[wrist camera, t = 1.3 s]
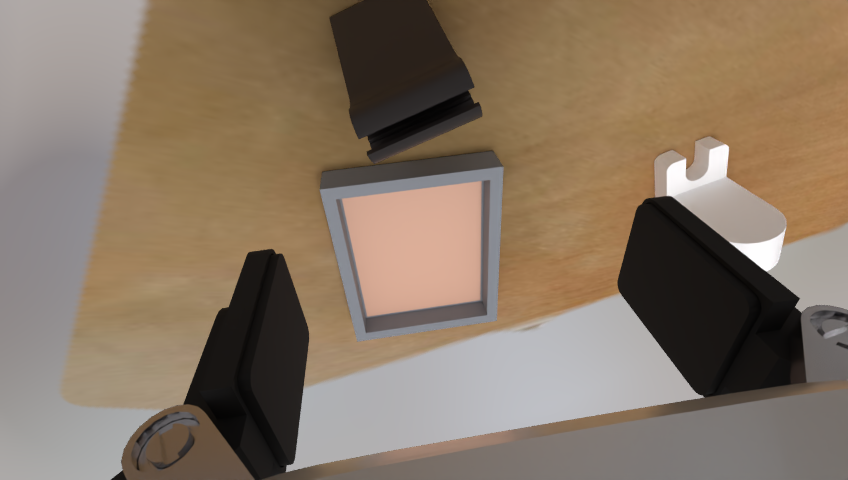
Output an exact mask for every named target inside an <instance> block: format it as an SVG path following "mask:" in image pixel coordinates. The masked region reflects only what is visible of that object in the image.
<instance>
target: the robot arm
mask: <svg viewBox="0 0 848 480" xmlns="http://www.w3.org/2000/svg"><path fill="white" fill-rule="evenodd" d="M618 289H619V292H620V293H621V295H622V296H623V297H624V299H625V300H626V301H627V303H628V304H629V305H630V307H631V308H632V309H633V311H634V312H635V313H636V315H637V316H638V317H639V319H640V320H641V321H642V323H643V324H644V325H645V326H646V328H647V329H648V330H649V332H650V333H651V334H652V336H653V337H654V338H655V340H656V341H657V342H658V344H659V345H660V346H661V348H662V349H663V350H664V352H665V353H666V354H667V356H668V357H669V358H670V359H671V361H672V362H673V363H674V365H675V366H676V367H677V369H678V370H679V371H680V373H681V374H682V375H683V377H684V378H685V379H686V381H687V382H688V383H689V385H690V386H691V387H692V388H693V390H694V391H695V392H696V393H698V394H699V395H703V396H704V397H705V398H700V399H694V400H687V401H681V402H675V403H669V404H664V405H657V406H651V407H645V408H639V409H633V410H626V411H621V412H614V413H609V414H603V415H597V416H591V417H585V418H579V419H574V420H567V421H561V422H556V423H549V424H543V425H537V426H532V427H526V428H520V429H514V430H508V431H502V432H496V433H490V434H485V435H479V436H473V437H467V438H462V439H456V440H450V441H444V442H439V443H433V444H428V445H421V446H416V447H410V448H405V449H399V450H393V451H387V452H382V453H377V454H372V455H366V456H361V457H356V458H351V459H346V460H340V461H335V462H331V463H325V464H319V465H315V466H311V467H307V468H303V469H298V470H294V471H290V472H286V466H287V465H291V464H293V463H294V460H295V453H296V445H297V437H298V428H299V420H300V411H301V403H302V395H303V386H304V378H305V369H306V361H307V353H308V344H309V331H308V326H307V323H306V320H305V317H304V314H303V311H302V308H301V305H300V303H299V300H298V297H297V294H296V291H295V288H294V285H293V282H292V279H291V276H290V273H289V270H288V267H287V264H286V262H285V259H284V256H283V255H282V254H276V253H275V251H274V250H273V249H268V250H261V251H253V252H249V253H248V254H247V257H246V260H245V262H244V265H243V268H242V271H241V274H240V277H239V279H238V282H237V285H236V288H235V291H234V294H233V297H232V299H231V302H230V305H229V307H228V308H222V309H221V310H220V311H219V312H218V314H217V316H216V319H215V321H214V324H213V327H212V329H211V332H210V335H209V337H208V340H207V343H206V345H205V348H204V351H203V353H202V356H201V359H200V361H199V364H198V367H197V369H196V372H195V375H194V377H193V380H192V383H191V385H190V388H189V391H188V393H187V396H186V399H185V401H184V404H183V405H176V406H173V407H170V408H167V409H164V410H163V411H161V412H159V413H158V414H156V415H154V416H152V417H151V418H149V419H148V420H147V421H146V422H145V423H143V424H142V425H141V426H140V427H139V428H138V429H137V430H136V432H135V433H134V434H133V435H132V436H131V437H130V440H129V441H128V443H127V445H126V447H125V448H124V451H123V456H122V460H121V464H122V469H123V470H122V471H121V472H120V473H119V474H117V475H116V476H115V477H114V478H112V479H111V480H848V310H846V309H843V308H839V307H834V306H828V305H816V306H812V307H808V308H806V309H805V310H804V311H803V312H802V313H801V312H800V311H799V310H798V309H796V308H795V306H796V304H797V302H798V301H799V299H800V298H799V297H797V296H796V295H795V294H793V293H792V292H791V291H790V290H789V289H787V288H786V287H785V286H784V285H782V284H781V283H780V282H779V281H777V280H776V279H775V278H774V277H772V276H771V275H770V274H768V273H767V272H766V271H765V270H763V269H762V268H761V267H760V266H758V265H757V264H756V263H755V262H753V261H752V260H751V259H750V258H748V257H747V256H746V255H745V254H743V253H742V252H741V251H740V250H738V249H737V248H736V247H735V246H733V245H732V244H731V243H730V242H728V241H727V240H726V239H725V238H723V237H722V236H721V235H720V234H718V233H717V232H716V231H715V230H713V229H712V228H711V227H710V226H708V225H707V224H706V223H705V222H703V221H702V220H701V219H700V218H698V217H697V216H696V215H695V214H693V213H692V212H691V211H690V210H688V209H687V208H686V207H685V206H683V205H682V204H681V203H680V202H678V201H677V200H676V199H675V198H673V197H671V196H662V197H654V198H648V199H646V200H644V202H643V203H642V205H639V206H638V208H637V210H636V213H635V217H634V221H633V225H632V229H631V232H630V236H629V240H628V244H627V247H626V251H625V255H624V259H623V262H622V266H621V270H620V274H619V278H618Z"/></svg>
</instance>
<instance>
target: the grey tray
mask: <svg viewBox="0 0 848 480" xmlns="http://www.w3.org/2000/svg"><path fill="white" fill-rule="evenodd" d="M502 187H503V165H502V164H501V162H500V161H499V159H498V158H497V156H496V155H495V153H494V152H493V151H488V152H480V153H472V154H464V155H455V156H447V157H439V158H431V159H423V160H415V161H407V162H398V163H390V164H382V165H374V166H366V167H358V168H350V169H342V170H333V171H325V172H322V178H321V184H320V193H321V197H322V201H323V205H324V209H325V213H326V217H327V221H328V225H329V229H330V233H331V237H332V241H333V245H334V249H335V253H336V257H337V261H338V265H339V270H340V274H341V278H342V282H343V286H344V290H345V294H346V298H347V302H348V306H349V310H350V314H351V318H352V322H353V326H354V330H355V334H356V338H357V342H358V341H365V340H371V339H378V338H385V337H391V336H398V335H405V334H411V333H418V332H425V331H431V330H438V329H445V328H451V327H458V326H465V325H472V324H478V323H485V322H492V321H497V302H498V279H499V256H500V233H501V210H502Z"/></svg>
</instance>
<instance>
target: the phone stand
mask: <svg viewBox="0 0 848 480" xmlns="http://www.w3.org/2000/svg"><path fill="white" fill-rule="evenodd" d="M330 22H331V26H332V30H333V34H334V38H335V42H336V46H337V50H338V54H339V58H340V62H341V66H342V70H343V75H344V79H345V83H346V87H347V91H348V95H349V99H350V108H349V114H350V118H351V121H352V124H353V127H354V129H355V132H356V134H357V137H358V139H361V138H363V137H365V136H368V140H369V142H370V146H371V149H372V150H369V151H367V156H368V157H369V159H370V160H371V161H372V162H373V163H374V164H375V163H378V162H380V161H382V160H384V159H387V158H389V157H391V156H393V155H396V154H398V153H400V152H403V151H405V150H407V149H409V148H412V147H414V146H416V145H418V144H421V143H423V142H425V141H428V140H430V139H432V138H434V137H437V136H439V135H441V134H443V133H446V132H448V131H450V130H453V129H455V128H457V127H459V126H462V125H464V124H466V123H468V122H471V121H473V120H475V119H478V118H480V117H482V110H481V106H480V104H479V102H477V103H475V104H474V102H473V99H472V98H471V95H470V93H469V91H468V90H469V89H472V88H474V84H473V82H472V79H471V77H470V74H469V72H468V70H467V68H466V66H465V64H464V62H463V60H462V59H461V58H460V57H458V56H457V54H456V53H455V51H454V50H453V48H452V46H451V44H450V42H449V41H448V39H447V37H446V35H445V33H444V31H443V30H442V28H441V26H440V24H439V22H438V20H437V19H436V17H435V15H434V13H433V11H432V9H431V7H430V6H429V4H428V2H427V0H364V1H362V2H360V3H358V4H356V5H354V6H352V7H350V8H348V9H346V10H344V11H342V12H340V13H338V14H336V15H334V16H332V17H330Z"/></svg>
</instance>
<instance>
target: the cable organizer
mask: <svg viewBox="0 0 848 480" xmlns="http://www.w3.org/2000/svg"><path fill="white" fill-rule="evenodd" d="M728 153H729V147H728V146H727V145H725V144H724V143H722V142H720V141H718V140H716V139H714V138H713V137H706V138H703V139H700V140H698V141H695V158H694V162H693V163H692V165H691V166H690V167H689V168H688V169H686V158H685V157H683V156H681V155H680V154H678V153H677V152H675V151H674V150H671V151H668V152H666V153H663V154H661V155H659V156H658V157H657V158H656V159H655V162H654V168H655V197H662V196H671V197H673V198H675V199H676V200H677V201H678V202H680V203H681V204H682V205H683V206H685V207H686V208H687V209H688V210H690V211H691V212H692V213H693V214H695V215H696V216H697V217H698V218H700V219H701V220H702V221H703V222H705V223H706V224H707V225H708V226H710V227H711V228H712V229H713V230H715V231H716V232H717V233H718V234H720V235H721V236H722V237H723V238H725V239H726V240H727V241H728V242H730V243H731V244H732V245H733V246H735V247H736V248H737V249H738V250H740V251H741V252H742V253H743V254H745V255H746V256H747V257H748V258H750V259H751V260H752V261H753V262H755V263H756V264H757V265H758V266H760V267H761V268H762V269H763V270H765V271H767V270H770V269H772V267H774V266H775V265H776V264H777V262H778V260H779V258H780V252H781V249H782V244H783V239H784V235H785V230H786V226H787V225H786V218H785V217H784V215H783V214H782V213H781V212H780V211H779V210H778V209H776V208H775V207H773V206H772V205H770V204H768V203H767V202H765V201H764V200H762V199H760V198H759V197H757V196H756V195H754V194H753V193H751V192H749V191H748V190H746V189H745V188H743V187H741V186H740V185H738V184H737V183H735V182H734V181H732V180H730V179H729V178H727V177H726V173H727V163H728Z"/></svg>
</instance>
